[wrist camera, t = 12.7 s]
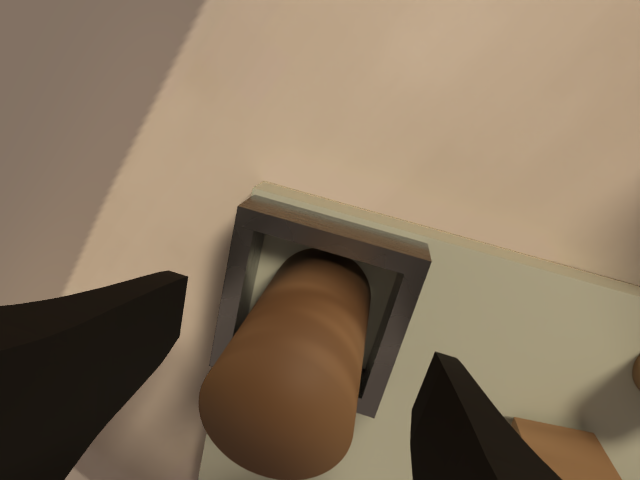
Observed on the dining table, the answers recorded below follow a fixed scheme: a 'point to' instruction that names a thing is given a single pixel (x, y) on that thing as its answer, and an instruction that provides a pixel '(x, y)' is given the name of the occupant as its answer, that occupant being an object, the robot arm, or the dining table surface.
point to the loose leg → (292, 371)
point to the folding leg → (567, 450)
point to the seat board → (483, 343)
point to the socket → (333, 238)
